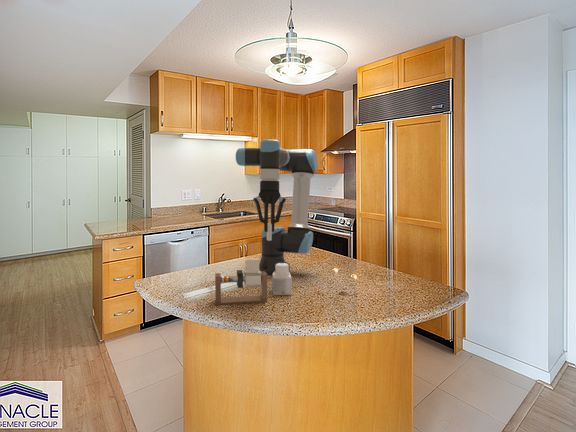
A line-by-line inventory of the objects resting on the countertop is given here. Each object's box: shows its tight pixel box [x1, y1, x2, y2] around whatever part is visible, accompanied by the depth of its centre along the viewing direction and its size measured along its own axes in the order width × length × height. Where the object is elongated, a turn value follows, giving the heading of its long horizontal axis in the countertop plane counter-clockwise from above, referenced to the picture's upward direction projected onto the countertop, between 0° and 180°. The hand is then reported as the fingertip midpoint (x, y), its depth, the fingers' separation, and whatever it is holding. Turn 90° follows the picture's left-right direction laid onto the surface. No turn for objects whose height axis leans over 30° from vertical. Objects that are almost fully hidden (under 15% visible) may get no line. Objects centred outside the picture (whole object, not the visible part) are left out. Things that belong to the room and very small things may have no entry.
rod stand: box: [214, 271, 268, 306], centre depth 136 cm, size 20×6×11 cm, turn 102°
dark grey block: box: [236, 269, 244, 289], centre depth 136 cm, size 2×6×6 cm, turn 12°
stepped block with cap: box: [243, 257, 261, 289], centre depth 137 cm, size 6×6×11 cm
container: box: [271, 261, 293, 296], centre depth 148 cm, size 8×8×13 cm
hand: (269, 239), depth 137 cm, fingers closed
